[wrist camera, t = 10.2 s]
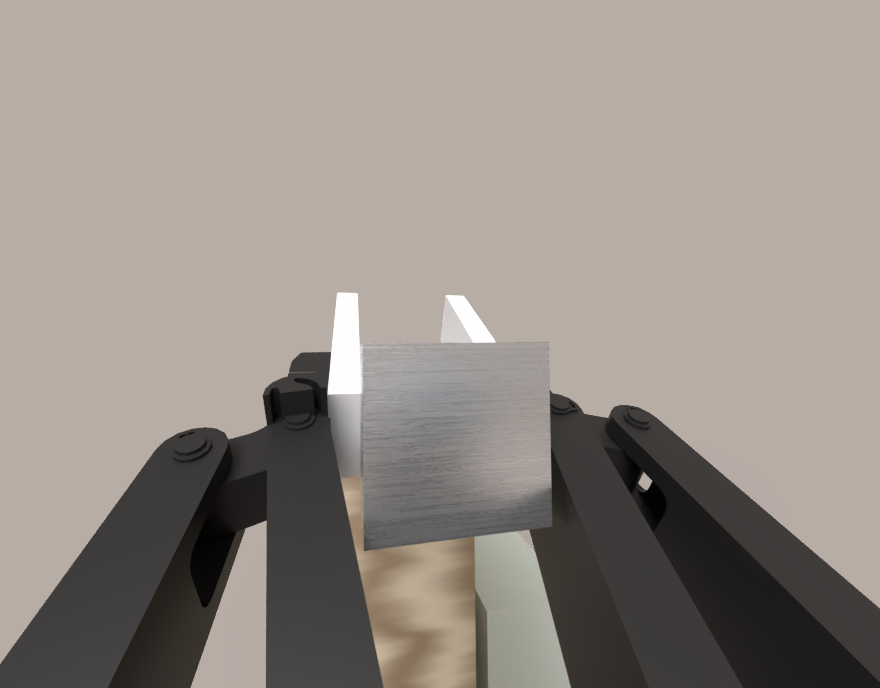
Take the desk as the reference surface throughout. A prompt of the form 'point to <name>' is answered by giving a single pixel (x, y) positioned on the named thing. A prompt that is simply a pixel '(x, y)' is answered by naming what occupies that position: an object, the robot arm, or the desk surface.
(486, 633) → the pale green block
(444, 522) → the grey long bar
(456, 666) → the stand
